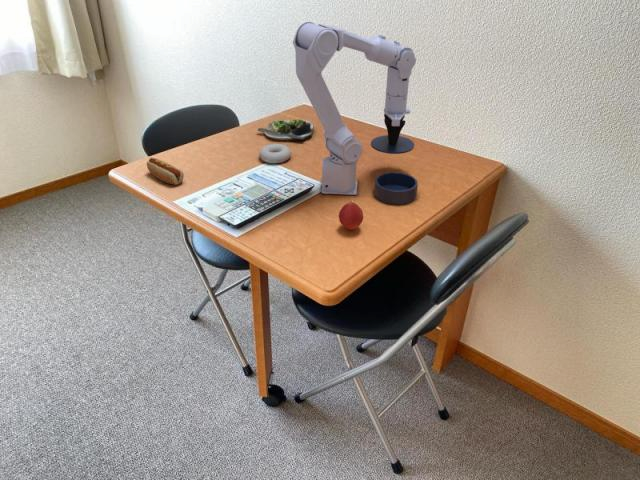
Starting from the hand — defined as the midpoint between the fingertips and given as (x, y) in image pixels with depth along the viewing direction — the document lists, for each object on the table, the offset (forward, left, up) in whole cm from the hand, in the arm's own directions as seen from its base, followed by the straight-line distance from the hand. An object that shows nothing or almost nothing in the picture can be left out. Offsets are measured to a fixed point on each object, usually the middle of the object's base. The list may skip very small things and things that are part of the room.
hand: (392, 141), depth 134 cm
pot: (+1, -12, -10) cm, 16 cm away
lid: (0, 0, -1) cm, 1 cm away
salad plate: (-33, +30, -11) cm, 46 cm away
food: (-65, -8, -11) cm, 66 cm away
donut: (-35, +9, -11) cm, 38 cm away
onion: (-10, -30, -11) cm, 34 cm away
